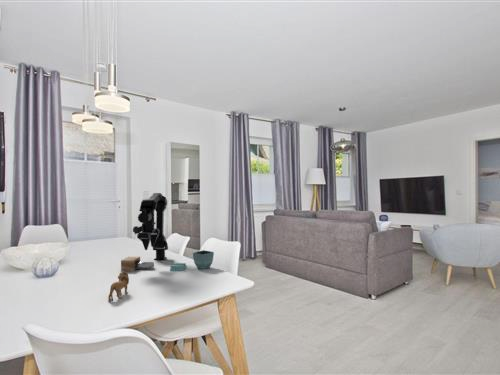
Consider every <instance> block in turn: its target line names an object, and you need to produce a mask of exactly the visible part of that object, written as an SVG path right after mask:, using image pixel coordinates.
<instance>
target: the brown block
mask: <svg viewBox="0 0 500 375" xmlns="http://www.w3.org/2000/svg"><path fill="white" fill-rule="evenodd" d="M135 262H141V256H128V257H125V258H122V259H121V260H120V271H121V272H123V271H125V272H134V271H136V269H135Z"/></svg>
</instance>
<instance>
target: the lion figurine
mask: <svg viewBox="0 0 500 375" xmlns="http://www.w3.org/2000/svg"><path fill="white" fill-rule="evenodd" d="M117 279H118V281H115V282H113V283H112V284H111V285H110V288H109V294H108V299H107V301H108V302H114V298H113V293H114V291H115V293H116V297H117V299H119V300H120V299H122V296H120V295H121V294H122V290H123V289H124V294H128V293H129V292H128V285H129V283H130V282H129V280H130V278H129V273H128V271H121V272H119V274H118V275H117Z"/></svg>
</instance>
